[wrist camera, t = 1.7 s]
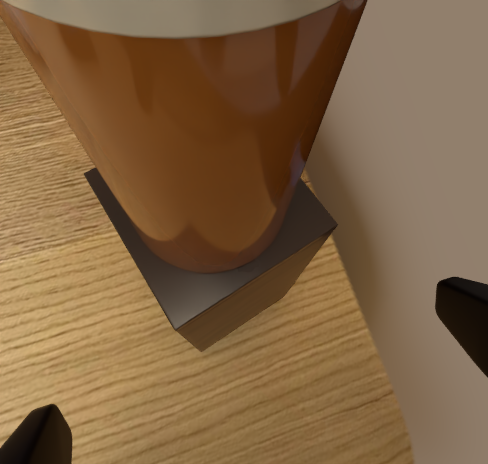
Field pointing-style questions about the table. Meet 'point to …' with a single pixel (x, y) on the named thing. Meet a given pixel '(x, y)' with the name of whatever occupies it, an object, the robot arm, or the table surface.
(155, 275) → the dark brown wooden block
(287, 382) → the table surface
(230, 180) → the jar
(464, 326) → the robot arm
